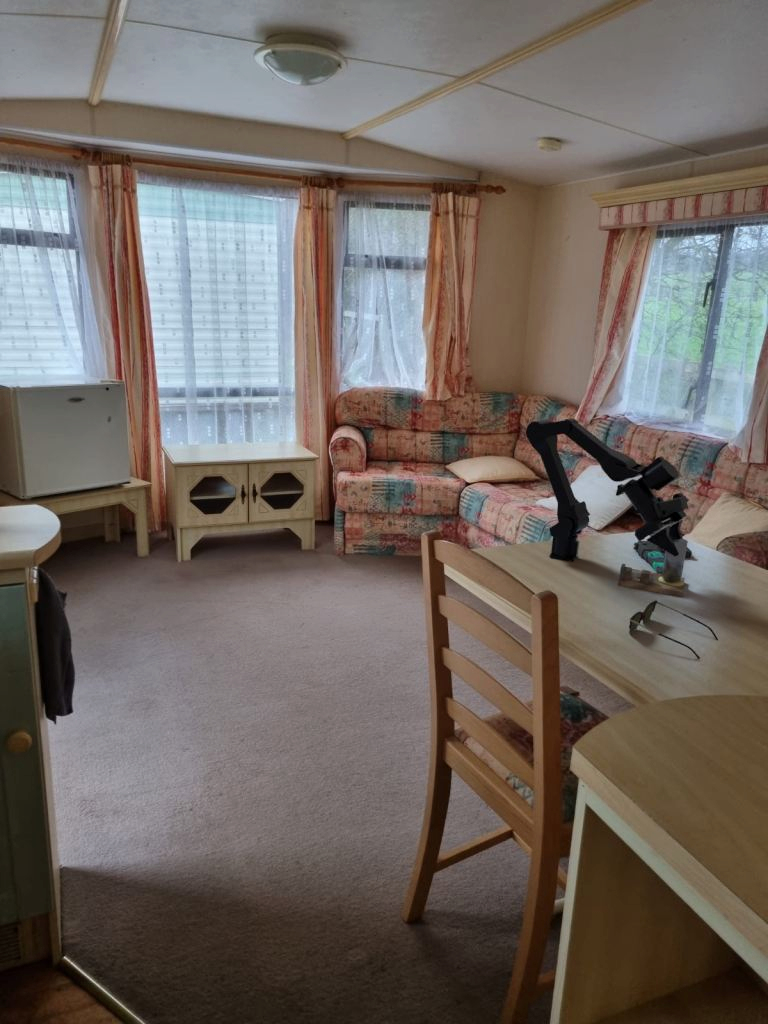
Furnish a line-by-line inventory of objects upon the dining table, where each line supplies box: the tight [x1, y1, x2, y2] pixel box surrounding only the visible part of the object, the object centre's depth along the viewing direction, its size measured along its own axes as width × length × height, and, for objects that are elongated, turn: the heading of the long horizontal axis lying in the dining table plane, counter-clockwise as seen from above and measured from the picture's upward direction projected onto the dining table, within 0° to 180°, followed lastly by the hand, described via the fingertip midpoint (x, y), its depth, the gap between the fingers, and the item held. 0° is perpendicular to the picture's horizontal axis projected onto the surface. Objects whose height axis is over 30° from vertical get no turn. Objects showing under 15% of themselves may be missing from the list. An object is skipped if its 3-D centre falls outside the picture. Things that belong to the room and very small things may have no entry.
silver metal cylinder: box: [661, 537, 688, 581], centre depth 176 cm, size 5×5×10 cm
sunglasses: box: [628, 599, 719, 659], centre depth 149 cm, size 14×15×5 cm
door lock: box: [617, 563, 685, 597], centre depth 179 cm, size 15×11×4 cm
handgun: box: [633, 540, 693, 574], centre depth 196 cm, size 4×26×15 cm
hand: (681, 553), depth 175 cm, fingers closed on silver metal cylinder, 4 cm apart
